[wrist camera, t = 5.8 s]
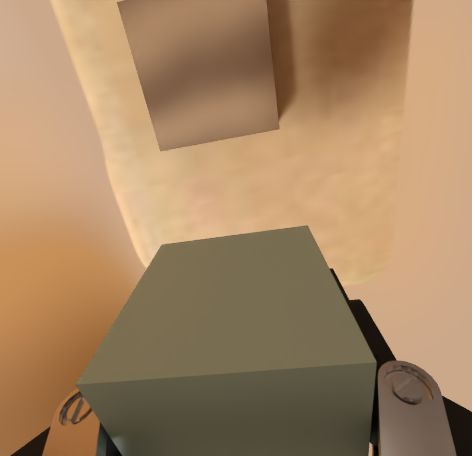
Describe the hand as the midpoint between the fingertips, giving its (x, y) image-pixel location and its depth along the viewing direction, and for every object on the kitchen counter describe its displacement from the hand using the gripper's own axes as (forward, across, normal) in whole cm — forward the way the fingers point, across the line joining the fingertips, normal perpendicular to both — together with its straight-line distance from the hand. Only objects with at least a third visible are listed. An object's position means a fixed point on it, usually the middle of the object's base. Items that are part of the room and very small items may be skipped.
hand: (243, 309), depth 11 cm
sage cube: (+1, 0, 0) cm, 1 cm away
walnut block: (+18, +1, -10) cm, 21 cm away
